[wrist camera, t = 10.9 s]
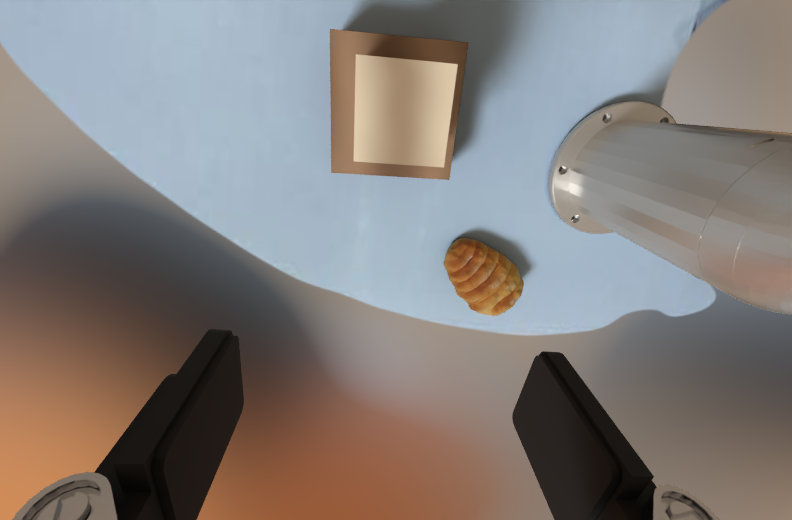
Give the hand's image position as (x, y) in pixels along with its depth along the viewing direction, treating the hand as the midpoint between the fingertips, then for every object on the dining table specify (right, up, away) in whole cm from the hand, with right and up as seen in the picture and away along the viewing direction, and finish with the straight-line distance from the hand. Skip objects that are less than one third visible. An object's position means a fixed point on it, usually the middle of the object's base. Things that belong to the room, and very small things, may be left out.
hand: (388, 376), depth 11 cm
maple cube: (0, +15, +16) cm, 22 cm away
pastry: (+10, +2, +28) cm, 29 cm away
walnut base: (0, +17, +19) cm, 26 cm away
